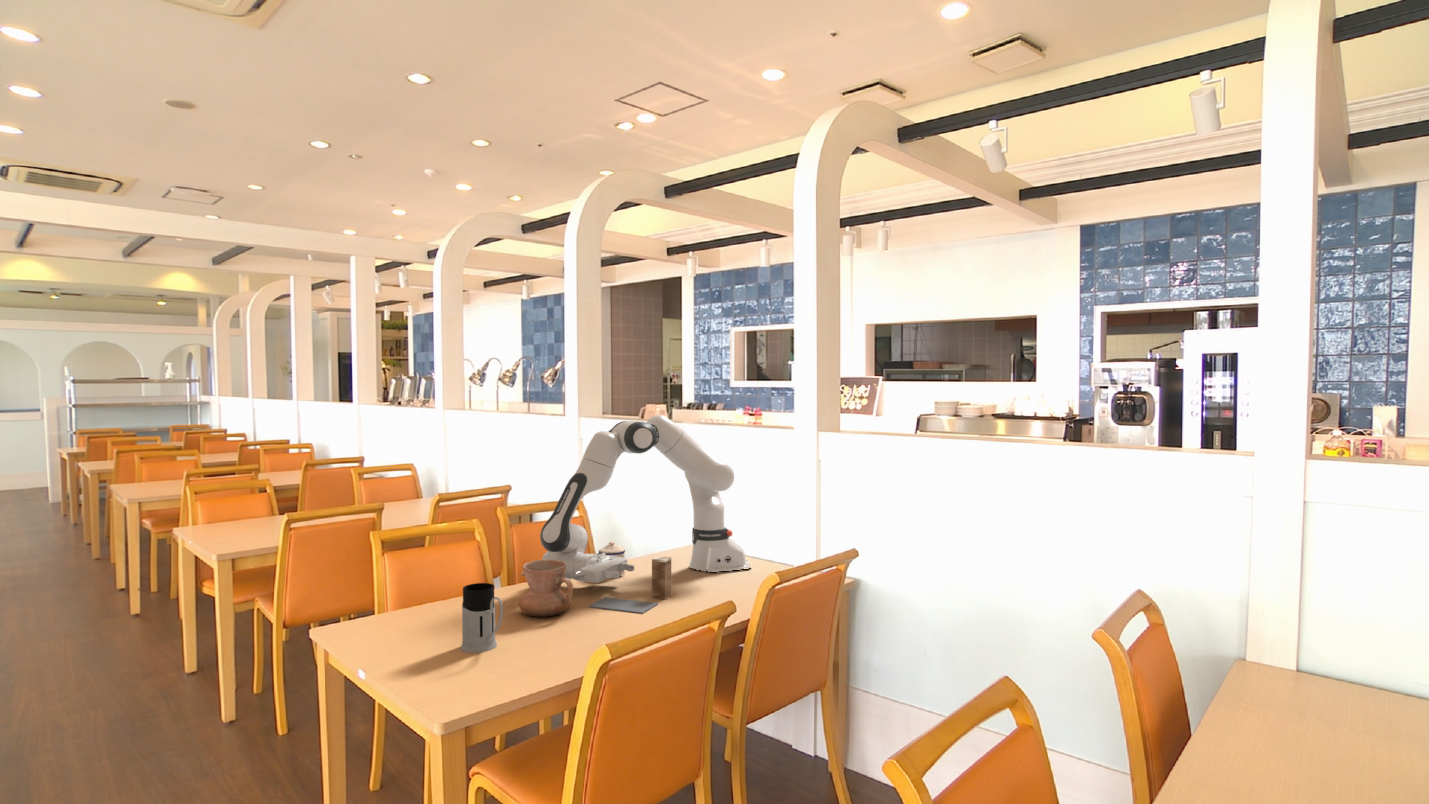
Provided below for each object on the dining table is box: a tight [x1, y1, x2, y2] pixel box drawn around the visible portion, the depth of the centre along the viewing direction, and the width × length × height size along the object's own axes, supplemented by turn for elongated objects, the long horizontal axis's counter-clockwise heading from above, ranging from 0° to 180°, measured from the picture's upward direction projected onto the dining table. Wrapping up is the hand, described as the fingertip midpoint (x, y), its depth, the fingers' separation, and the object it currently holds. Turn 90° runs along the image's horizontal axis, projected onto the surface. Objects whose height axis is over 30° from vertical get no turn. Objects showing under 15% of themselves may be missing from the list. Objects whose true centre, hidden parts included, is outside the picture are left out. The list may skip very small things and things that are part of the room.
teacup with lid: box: [598, 541, 626, 576], centre depth 261 cm, size 12×9×12 cm
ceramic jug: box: [518, 559, 574, 618], centre depth 216 cm, size 18×14×14 cm
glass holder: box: [460, 582, 504, 654], centre depth 187 cm, size 9×14×15 cm, turn 51°
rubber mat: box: [588, 596, 659, 615], centre depth 224 cm, size 18×10×1 cm, turn 69°
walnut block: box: [651, 555, 672, 600], centre depth 233 cm, size 4×4×12 cm
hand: (626, 571), depth 237 cm, fingers open, 8 cm apart
